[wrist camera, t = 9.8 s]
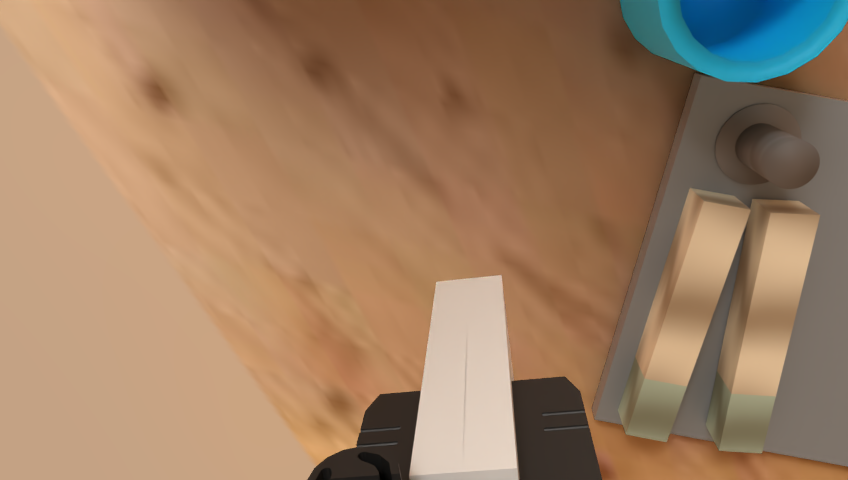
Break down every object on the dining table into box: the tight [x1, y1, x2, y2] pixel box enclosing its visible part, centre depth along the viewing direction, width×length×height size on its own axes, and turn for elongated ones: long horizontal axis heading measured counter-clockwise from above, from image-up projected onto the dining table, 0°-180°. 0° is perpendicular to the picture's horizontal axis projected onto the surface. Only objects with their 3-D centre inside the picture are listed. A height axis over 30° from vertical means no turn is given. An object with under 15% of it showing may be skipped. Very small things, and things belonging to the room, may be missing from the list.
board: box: [592, 73, 848, 467], centre depth 40 cm, size 22×22×1 cm
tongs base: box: [618, 104, 820, 442], centre depth 37 cm, size 20×5×4 cm, turn 170°
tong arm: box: [706, 199, 820, 454], centre depth 39 cm, size 15×2×2 cm, turn 179°
